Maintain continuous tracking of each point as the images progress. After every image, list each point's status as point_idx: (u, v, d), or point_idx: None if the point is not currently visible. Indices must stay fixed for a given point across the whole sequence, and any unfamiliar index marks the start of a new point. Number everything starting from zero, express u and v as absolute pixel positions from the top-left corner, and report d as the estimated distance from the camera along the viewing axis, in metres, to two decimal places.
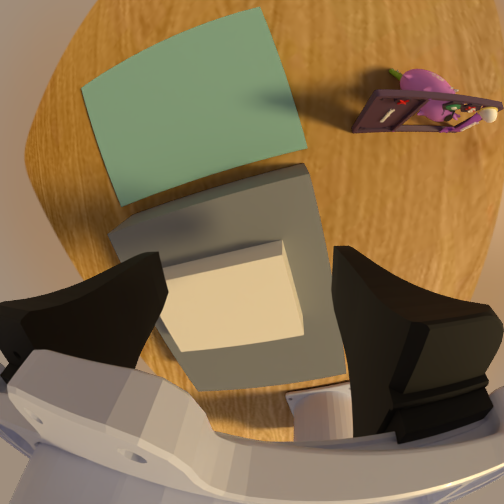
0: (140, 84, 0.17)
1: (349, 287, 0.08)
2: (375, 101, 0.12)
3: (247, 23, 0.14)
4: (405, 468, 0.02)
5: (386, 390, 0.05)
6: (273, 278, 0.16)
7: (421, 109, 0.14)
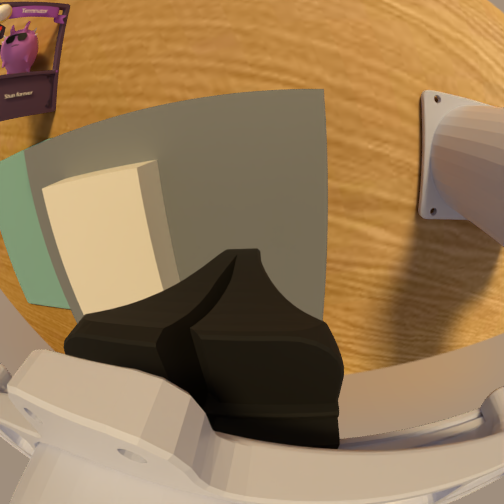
0: (22, 260, 0.21)
1: None
2: None
3: None
4: (405, 468, 0.02)
5: None
6: (61, 200, 0.11)
7: (23, 59, 0.11)
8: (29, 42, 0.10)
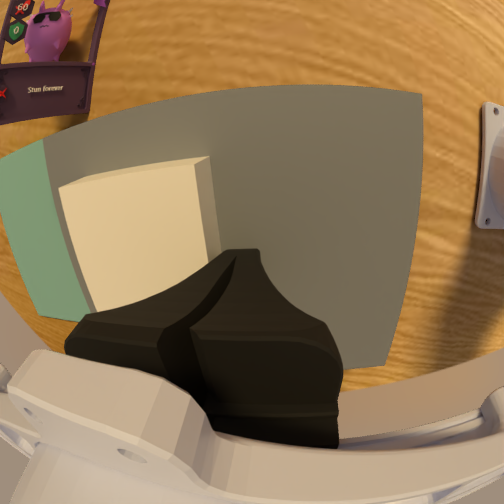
0: (33, 268, 0.19)
1: None
2: (1, 122, 0.08)
3: None
4: (405, 468, 0.02)
5: None
6: (85, 203, 0.09)
7: (52, 45, 0.09)
8: (63, 24, 0.08)
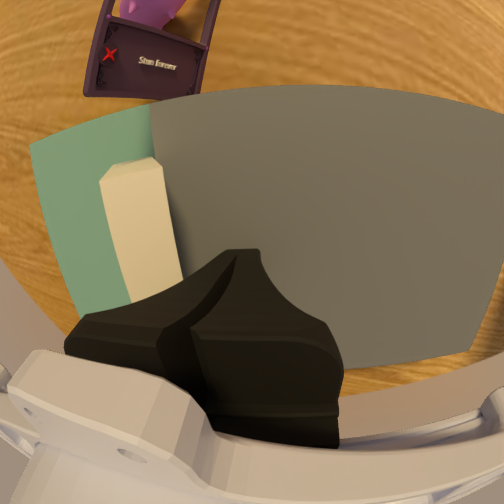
0: (82, 269, 0.18)
1: None
2: (104, 93, 0.08)
3: (40, 157, 0.14)
4: (405, 468, 0.02)
5: None
6: None
7: (165, 12, 0.09)
8: None
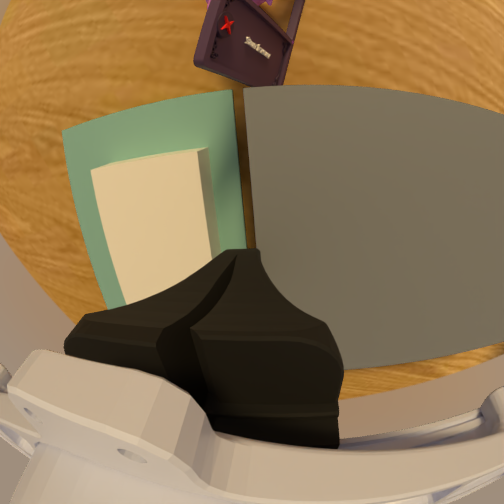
0: None
1: None
2: (216, 67, 0.07)
3: (76, 144, 0.14)
4: (405, 468, 0.02)
5: None
6: None
7: None
8: None
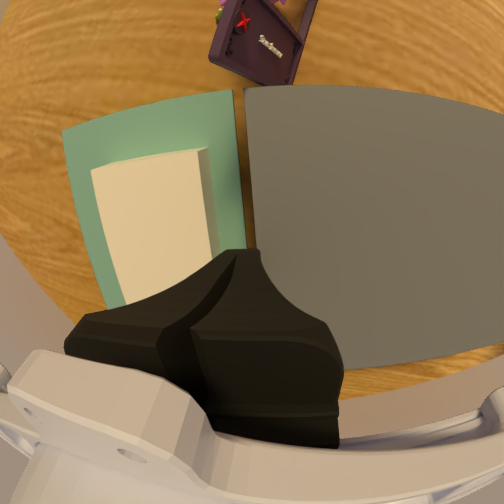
0: None
1: None
2: (230, 63, 0.07)
3: (76, 144, 0.14)
4: (405, 468, 0.02)
5: None
6: None
7: None
8: None
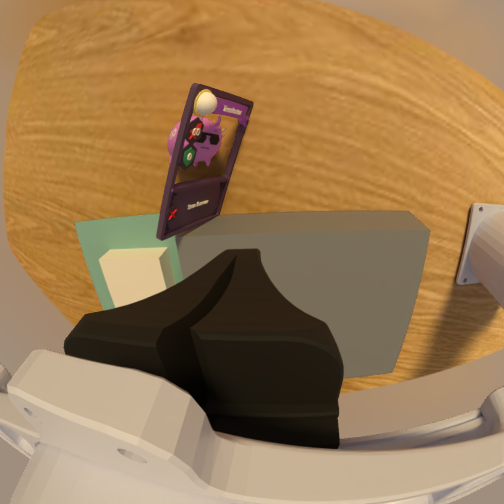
0: None
1: None
2: (168, 236, 0.16)
3: (86, 234, 0.23)
4: (405, 468, 0.02)
5: None
6: None
7: (203, 160, 0.17)
8: (218, 147, 0.17)
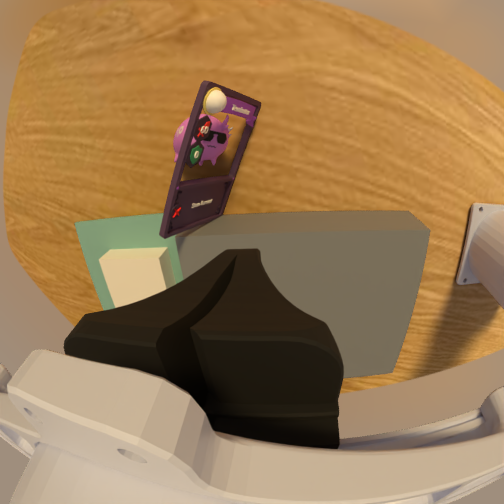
0: None
1: None
2: (171, 234, 0.16)
3: (86, 234, 0.23)
4: (405, 468, 0.02)
5: None
6: None
7: (209, 159, 0.17)
8: (225, 147, 0.17)
